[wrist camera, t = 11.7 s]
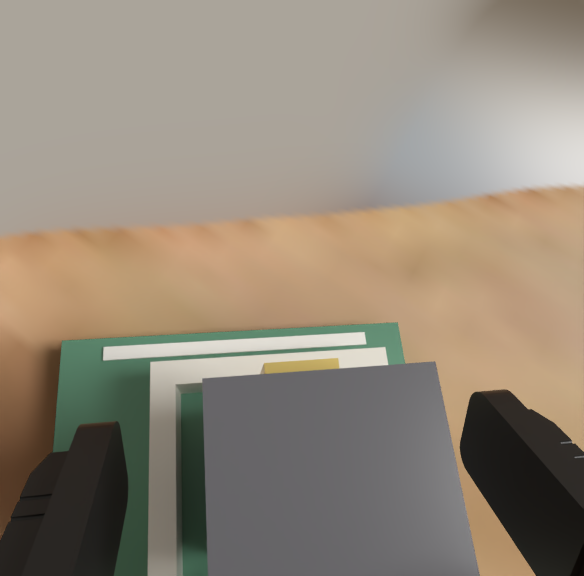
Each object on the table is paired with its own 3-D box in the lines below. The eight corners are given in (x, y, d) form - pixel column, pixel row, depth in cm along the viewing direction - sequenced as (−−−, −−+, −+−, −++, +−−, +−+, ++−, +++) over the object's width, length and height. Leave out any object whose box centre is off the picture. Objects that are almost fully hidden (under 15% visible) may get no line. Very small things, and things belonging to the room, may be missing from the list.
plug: (219, 555, 15) (211, 684, 6) (213, 412, 17) (200, 341, 8) (337, 539, 16) (491, 634, 7) (321, 402, 18) (428, 328, 8)
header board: (39, 781, 14) (-12, 867, 11) (71, 348, 18) (42, 325, 15) (452, 701, 16) (505, 754, 13) (388, 330, 20) (416, 306, 17)
